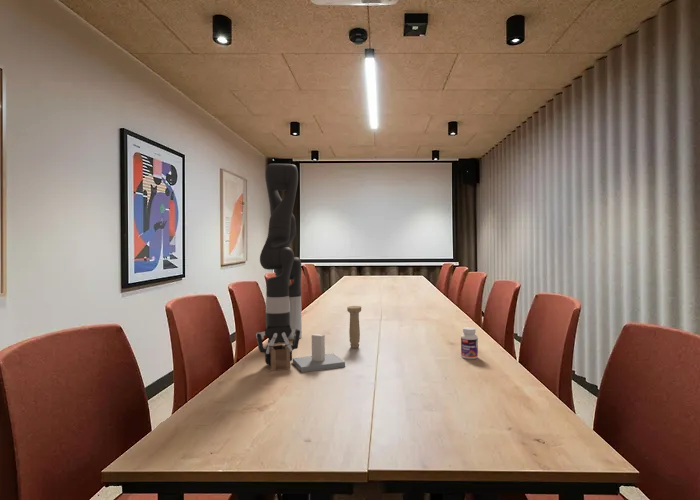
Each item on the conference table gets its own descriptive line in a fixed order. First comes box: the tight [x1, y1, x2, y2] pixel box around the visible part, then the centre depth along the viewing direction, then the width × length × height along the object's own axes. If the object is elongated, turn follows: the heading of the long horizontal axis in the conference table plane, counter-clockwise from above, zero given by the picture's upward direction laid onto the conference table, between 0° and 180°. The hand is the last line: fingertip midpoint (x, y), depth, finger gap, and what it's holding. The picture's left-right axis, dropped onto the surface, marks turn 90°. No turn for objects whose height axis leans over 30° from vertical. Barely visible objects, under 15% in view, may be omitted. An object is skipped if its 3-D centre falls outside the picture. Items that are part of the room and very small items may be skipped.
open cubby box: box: [268, 343, 291, 371], centre depth 129 cm, size 7×6×6 cm
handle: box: [346, 305, 362, 349], centre depth 152 cm, size 5×6×15 cm
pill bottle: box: [460, 326, 479, 360], centre depth 137 cm, size 5×5×10 cm
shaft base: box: [292, 333, 346, 373], centre depth 130 cm, size 11×14×10 cm
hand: (278, 363), depth 129 cm, fingers closed on open cubby box, 5 cm apart
